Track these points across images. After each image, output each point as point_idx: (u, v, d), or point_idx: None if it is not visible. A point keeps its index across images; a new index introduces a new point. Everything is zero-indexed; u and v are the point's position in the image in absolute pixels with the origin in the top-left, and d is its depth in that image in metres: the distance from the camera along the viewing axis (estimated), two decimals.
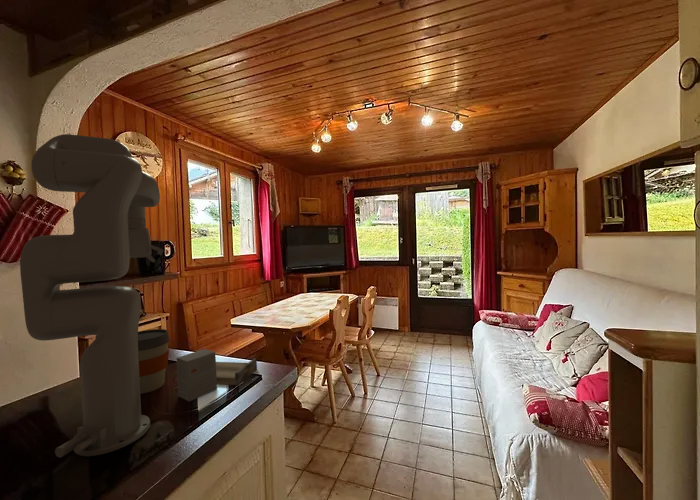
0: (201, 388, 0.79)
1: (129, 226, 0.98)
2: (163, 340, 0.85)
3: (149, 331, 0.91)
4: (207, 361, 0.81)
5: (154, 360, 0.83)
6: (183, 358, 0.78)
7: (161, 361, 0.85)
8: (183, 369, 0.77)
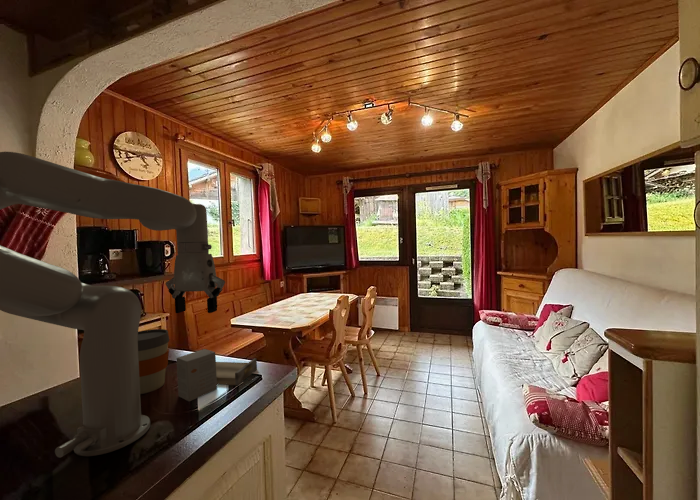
0: (201, 388, 0.79)
1: None
2: (163, 340, 0.85)
3: (149, 331, 0.91)
4: (207, 361, 0.81)
5: (154, 360, 0.83)
6: (183, 358, 0.78)
7: (161, 361, 0.85)
8: (183, 369, 0.77)
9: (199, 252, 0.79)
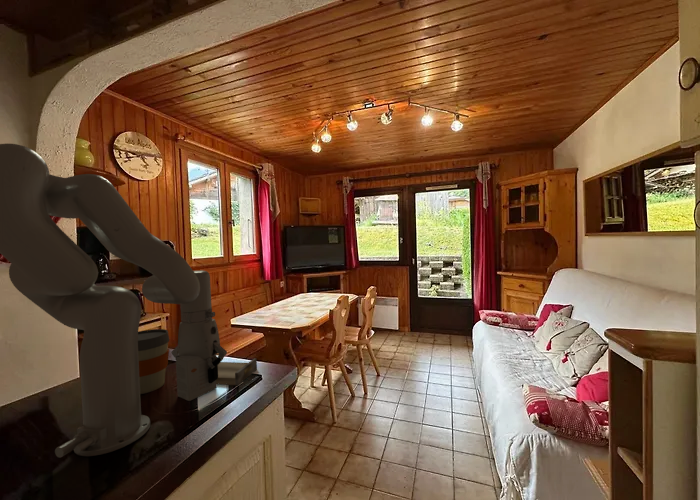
0: (200, 388, 0.79)
1: None
2: (163, 340, 0.85)
3: (149, 331, 0.91)
4: None
5: (154, 360, 0.83)
6: (182, 358, 0.78)
7: (161, 361, 0.85)
8: (183, 369, 0.77)
9: (203, 321, 0.79)
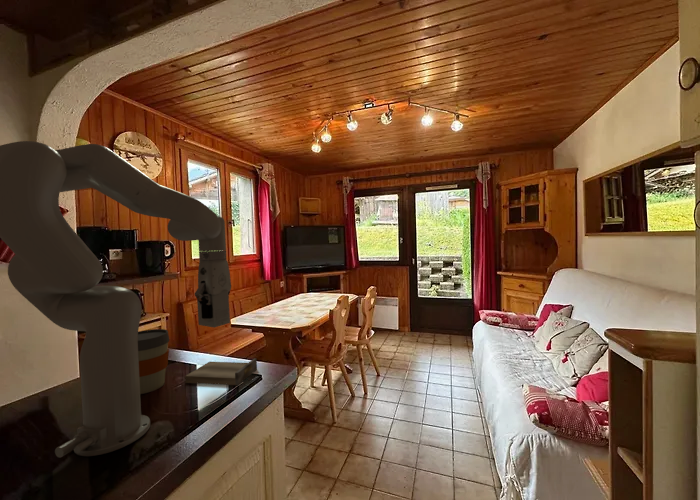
0: (204, 319, 0.90)
1: (223, 259, 0.90)
2: (163, 340, 0.85)
3: (149, 331, 0.91)
4: (207, 298, 0.89)
5: (154, 360, 0.83)
6: None
7: (161, 361, 0.85)
8: None
9: (200, 260, 0.88)
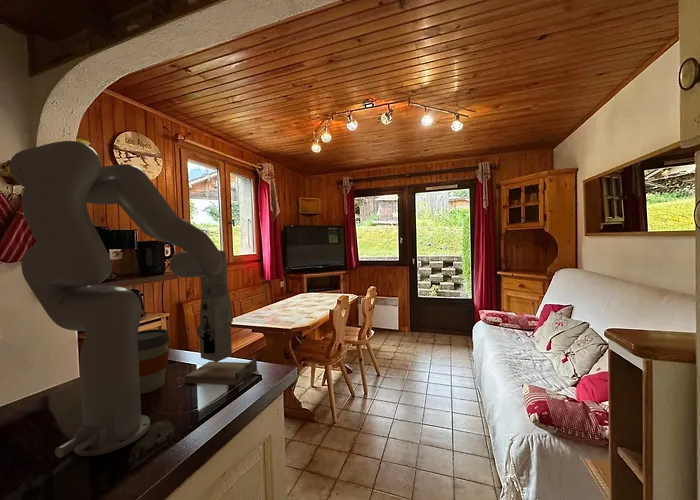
0: (206, 353, 0.90)
1: (225, 293, 0.90)
2: (163, 340, 0.85)
3: (149, 331, 0.91)
4: (209, 332, 0.89)
5: (154, 360, 0.83)
6: None
7: (161, 361, 0.85)
8: None
9: (202, 295, 0.89)
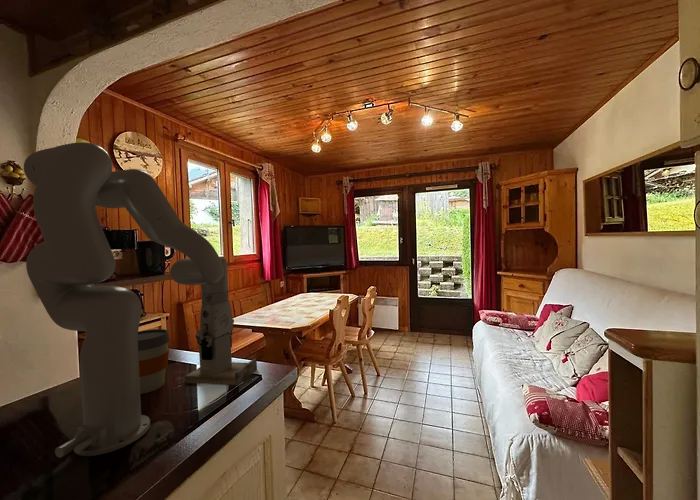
0: (206, 365, 0.90)
1: (225, 301, 0.90)
2: (163, 340, 0.85)
3: (149, 331, 0.91)
4: None
5: (154, 360, 0.83)
6: None
7: (161, 361, 0.85)
8: None
9: (202, 302, 0.89)
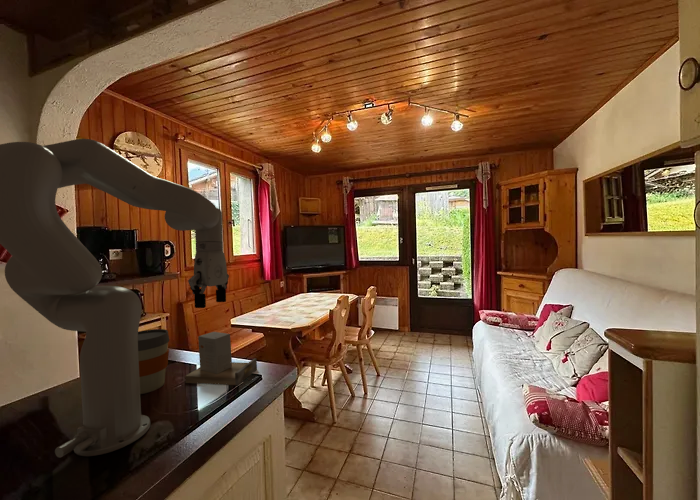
0: (206, 365, 0.90)
1: (220, 251, 0.90)
2: (163, 340, 0.85)
3: (149, 331, 0.91)
4: (209, 344, 0.89)
5: (154, 360, 0.83)
6: (208, 333, 0.94)
7: (161, 361, 0.85)
8: None
9: (196, 251, 0.88)
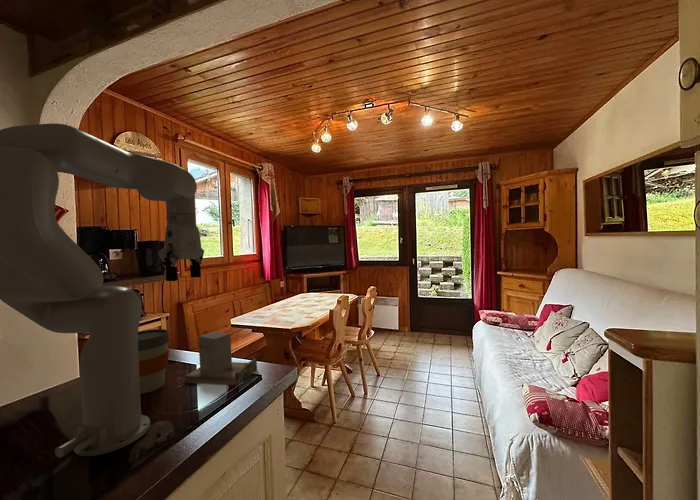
0: (206, 365, 0.90)
1: (192, 223, 0.87)
2: (163, 340, 0.85)
3: (149, 331, 0.91)
4: (209, 344, 0.89)
5: (154, 360, 0.83)
6: (208, 333, 0.94)
7: (161, 361, 0.85)
8: None
9: (168, 223, 0.86)
